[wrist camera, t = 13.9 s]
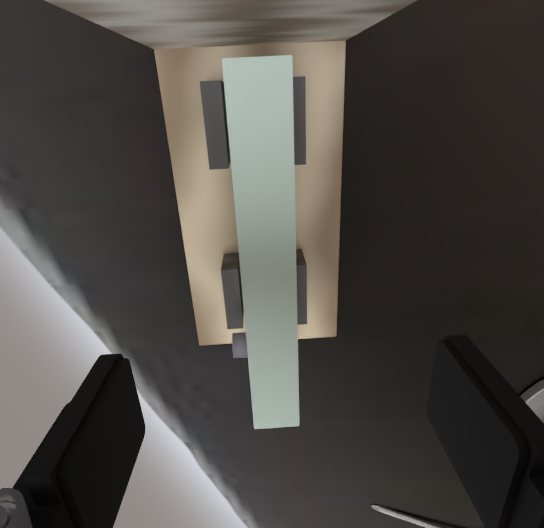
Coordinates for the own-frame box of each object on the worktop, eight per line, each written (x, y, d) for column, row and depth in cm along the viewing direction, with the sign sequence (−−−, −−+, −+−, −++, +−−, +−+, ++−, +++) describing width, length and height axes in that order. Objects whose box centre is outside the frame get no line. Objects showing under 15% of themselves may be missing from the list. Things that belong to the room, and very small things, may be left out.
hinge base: (341, 16, 24) (578, -187, 7) (332, 326, 34) (418, 575, 17) (155, 25, 24) (-114, -165, 6) (201, 335, 34) (146, 597, 16)
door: (274, 72, 24) (292, 55, 13) (283, 311, 32) (299, 426, 21) (216, 74, 24) (187, 59, 13) (239, 314, 32) (232, 430, 21)
